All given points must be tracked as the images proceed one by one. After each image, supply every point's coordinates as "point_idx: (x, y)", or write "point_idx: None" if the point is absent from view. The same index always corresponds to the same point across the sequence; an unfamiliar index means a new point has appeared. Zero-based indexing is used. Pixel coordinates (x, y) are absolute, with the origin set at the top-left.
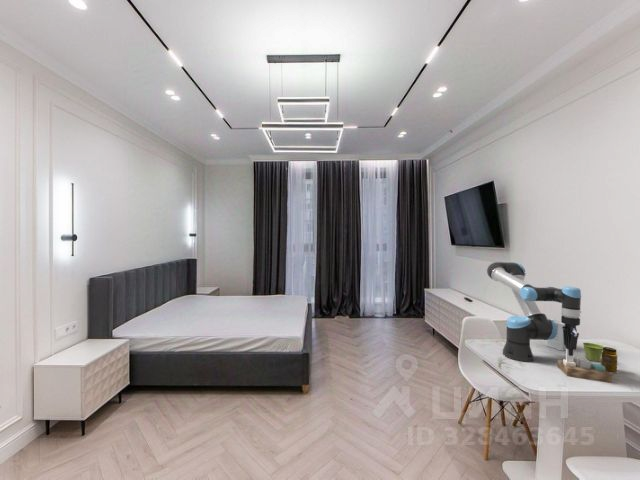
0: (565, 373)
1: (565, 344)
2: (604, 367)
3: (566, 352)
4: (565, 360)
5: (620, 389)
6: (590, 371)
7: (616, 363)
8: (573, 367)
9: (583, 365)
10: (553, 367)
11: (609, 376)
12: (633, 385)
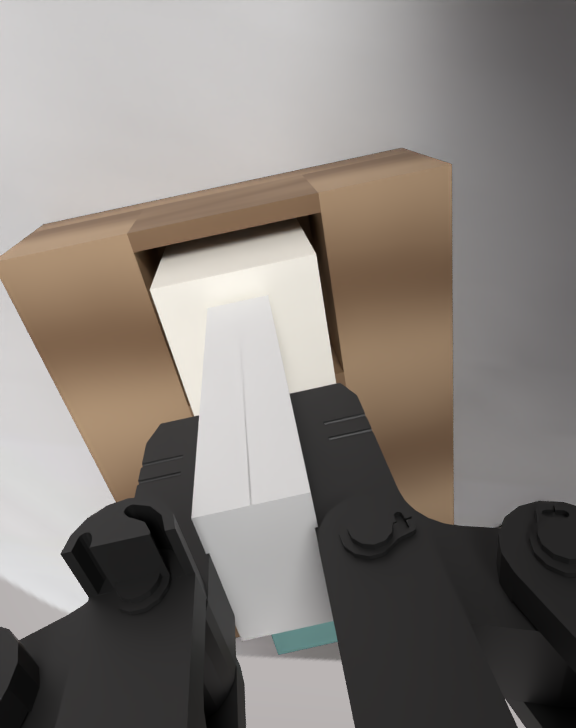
0: (97, 214)
1: (504, 571)
2: (279, 650)
3: (244, 401)
4: (260, 287)
5: (64, 596)
6: None
7: None
8: (134, 357)
9: None
10: (326, 73)
11: None
12: (249, 653)
